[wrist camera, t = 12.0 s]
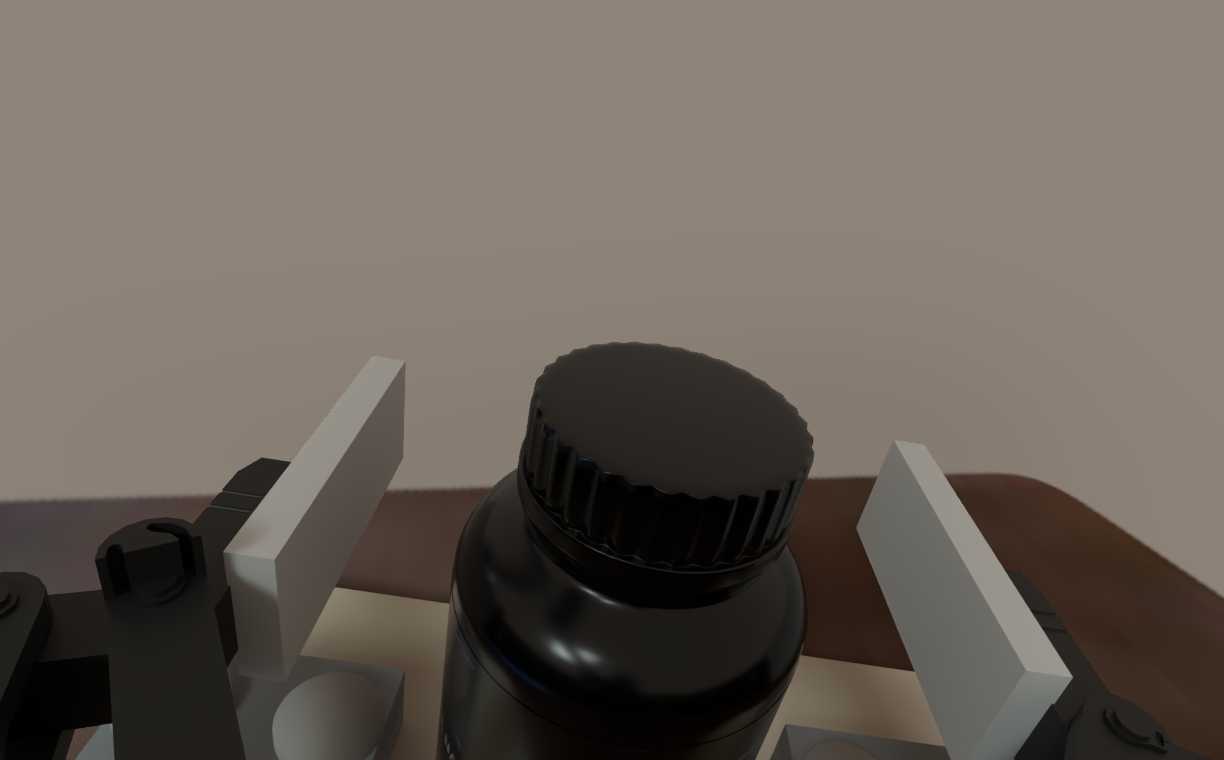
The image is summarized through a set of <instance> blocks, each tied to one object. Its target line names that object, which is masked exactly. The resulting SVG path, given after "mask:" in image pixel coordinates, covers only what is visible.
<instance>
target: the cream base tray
mask: <svg viewBox="0 0 1224 760" xmlns="http://www.w3.org/2000/svg"><path fill="white" fill-rule="evenodd" d="M448 614H449V604H447V603H440V602H433V601H426V600H419V599H412V598H406V597H399V596H392V595H385V594H378V593H371V592H365V591H358V590H351V589H344V588H337V587H335V588H334V590H333V592H332V594H331V596H330V598H329V599H328V601H327V603H326V605H325V607H324V609H323V611H322V613H321V615H320V617H319V618H318V620H317V622H316V624H315V626H314V628H313V630H312V632H311V634H310V636H309V638H308V639H307V641H306V643H305V645H304V647H303V649H302V651H301V653H300V655H299V657H298V658H297V660H296V662H295V664H294V666H293V668H292V670H291V672H290V674H289V676H288V678H287V679H286V681H285V682H282V681H275V680H267V679H260V678H253V677H246V676H239V670H238V662H237V655H236V654H235V656H234V658H233V659H232V661H231V662H230V664H229V666H228V667H227V671H228V676H229V681H230V685H231V690H232V695H233V700H234V704H235V709H236V714H237V719H238V723H239V728H240V733H241V738H242V742H243V747H244V752H245V757H246V760H436V749H437V738H438V727H439V716H440V704H441V693H442V682H443V671H444V659H445V648H446V637H447V626H448ZM75 760H114V744H113V727H112V724H105V725H101V726H100V727H99V728H98V730H97V731H96V732H95V734H94V735H93V736H92V738H91V739H90V740H89V742H88V743H87V744H86V746H85V747H84V748H83V750H82V751H81V752H80V754H79V755H78V756H77V758H76V759H75ZM755 760H951V759H950V757H949V754H948V752H947V749H946V747H945V744H944V742H943V739H942V737H941V735H940V732H939V730H938V727H937V725H936V722H935V720H934V717H933V715H932V712H931V710H930V708H929V705H928V703H927V700H926V698H925V695H924V693H923V690H922V688H921V685H920V683H919V681H918V678H917V676H916V673H915V672H912V671H905V670H898V669H891V668H884V667H877V666H870V665H864V664H857V663H850V662H843V661H836V660H829V659H823V658H816V657H809V656H802V655H801V656H800V659H799V662H798V665H797V667H796V670H795V673H794V676H793V678H792V680H791V683H790V685H789V687H788V689H787V691H786V694H785V696H784V698H783V700H782V702H781V705H780V707H779V709H778V711H777V713H776V716H775V718H774V720H773V722H772V724H771V726H770V729H769V731H768V733H767V735H766V737H765V740H764V742H763V744H762V746H761V748H760V751H759V753H758V755H757V757H756V759H755Z"/></svg>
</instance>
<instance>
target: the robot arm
mask: <svg viewBox="0 0 1224 760" xmlns="http://www.w3.org/2000/svg"><path fill="white" fill-rule="evenodd" d="M404 397H405V361H402V360H395V359H389V358H383V357H377V356H372V357H371V358H370V360H369V361H368V362H367V364H366V365H365V366H364V368H363V369H362V370H361V372H360V373H359V374H358V376H357V377H356V378H355V379H354V381H353V382H352V384H351V385H350V386H349V388H348V389H347V390H346V391H345V393H344V394H343V395H342V397H341V398H340V399H339V400H338V402H337V403H336V404H335V406H334V407H333V408H332V410H331V411H330V412H329V414H328V415H327V416H326V418H325V419H324V420H323V421H322V423H321V424H320V425H319V427H318V428H317V429H316V431H315V432H314V433H313V435H312V436H311V437H310V439H309V440H308V441H307V442H306V444H305V445H304V446H303V448H302V449H301V450H300V452H299V453H298V454H297V456H296V457H295V458H294V460H293V461H292V462H287V461H280V460H274V459H267V458H260V459H259V460H257V461H255V462H253V463H252V464H250V465H248V466H247V467H245V468H243V469H241V470H240V471H238V472H237V473H236V474H235V475H234V477H233V478H232V479H231V480H230V481H229V482H228V484H227V485H226V486H225V487H224V488H223V491H222V493H219V494H218V495H217V496H216V497H215V499H214V500H213V501H212V502H211V503H210V507H209V508H208V507H207V508H206V509H205V510H204V511H203V513H202V514H201V515H200V516H199V517H198V518H197V520H196V521H195V522H194V523H193V524H191V523H189V522H187V521H185V520H183V519H175V518H167V517H164V518H155V519H146V520H143V521H140V522H137V523H133V524H130V525H127V526H125V527H124V528H122V529H120V530H118V531H117V532H115V533H113V534H111V535H110V536H109V537H108V538H107V539H106V540H105V541H104V542H103V543H102V544H101V545H100V546H99V548H98V551H97V554H96V558H95V562H96V566H97V570H98V574H99V578H100V582H101V587H102V589H101V590H95V591H86V592H76V593H66V594H55V595H48V594H47V590H46V587H45V585H44V584H43V583H42V582H41V580H40V579H39V578H38V577H36V576H33V575H30V574H27V573H24V572H2V573H0V760H65V759H66V756H67V753H68V750H69V747H70V744H71V740H72V737H73V734H74V731H75V729H78V728H85V727H92V726H98V725H105V724H112V727H113V744H114V760H246V757H245V752H244V747H243V742H242V738H241V733H240V728H239V723H238V719H237V714H236V709H235V704H234V700H233V695H232V690H231V685H230V681H229V676H228V671H227V667H228V666H229V664H230V662H231V661H232V659H233V658H234V656H235V654H236V655H237V662H238V670H239V676H246V677H253V678H260V679H267V680H275V681H282V682H285V681H286V679H287V678H288V676H289V674H290V672H291V670H292V668H293V666H294V664H295V662H296V660H297V658H298V657H299V655H300V653H301V651H302V649H303V647H304V645H305V643H306V641H307V639H308V638H309V636H310V634H311V632H312V630H313V628H314V626H315V624H316V622H317V620H318V618H319V617H320V615H321V613H322V611H323V609H324V607H325V605H326V603H327V601H328V599H329V598H330V596H331V594H332V592H333V590H334V588H335V586H336V584H337V582H338V580H339V578H340V577H341V575H342V573H343V571H344V569H345V567H346V565H347V563H348V561H349V559H350V558H351V556H352V554H353V552H354V550H355V548H356V546H357V544H358V542H359V540H360V538H361V537H362V535H363V533H364V531H365V529H366V527H367V525H368V523H369V521H370V519H371V518H372V516H373V514H374V512H375V510H376V508H377V506H378V504H379V502H380V500H381V498H382V497H383V495H384V493H385V491H386V489H387V487H388V485H389V483H390V481H391V479H392V478H393V476H394V474H395V472H396V470H397V468H398V466H399V464H400V462H401V460H402V459H403V437H404V436H403V435H404ZM856 529H857V531H858V533H859V536H860V538H861V541H862V543H863V546H864V548H865V551H866V553H867V556H868V558H869V560H870V563H871V565H872V568H873V570H874V573H875V575H876V578H877V580H878V582H879V585H880V587H881V590H882V592H883V595H884V597H885V600H886V602H887V605H888V607H889V609H890V612H891V614H892V617H893V619H894V622H895V624H896V627H897V629H898V632H899V634H900V636H901V639H902V641H903V644H904V646H905V649H906V651H907V654H908V656H909V659H910V661H911V663H912V666H913V668H914V671H915V673H916V676H917V678H918V681H919V683H920V685H921V688H922V690H923V693H924V695H925V698H926V700H927V703H928V705H929V708H930V710H931V712H932V715H933V717H934V720H935V722H936V725H937V727H938V730H939V732H940V735H941V737H942V739H943V742H944V744H945V747H946V749H947V752H948V754H949V757H950V759H951V760H1212V759H1209V758H1206V757H1204V756H1201V755H1199V754H1196V753H1194V752H1191V751H1189V750H1186V749H1184V748H1181V747H1179V746H1176V745H1174V743H1173V741H1172V740H1171V738H1170V737H1169V735H1168V734H1167V732H1166V731H1165V729H1164V728H1163V727H1162V726H1161V725H1160V724H1159V723H1158V722H1157V721H1156V720H1155V719H1154V718H1153V717H1152V716H1151V715H1149V714H1148V713H1147V712H1145V711H1144V710H1142V709H1141V708H1139V707H1138V706H1136V705H1135V704H1133V703H1132V702H1130V701H1128V700H1125V699H1123V698H1121V697H1118V696H1116V695H1112V694H1110V693H1109V691H1108V690H1107V688H1106V687H1105V685H1104V684H1103V682H1102V681H1101V679H1100V678H1099V676H1098V675H1097V674H1096V672H1095V671H1094V669H1093V668H1092V666H1091V665H1090V663H1089V662H1088V660H1087V659H1086V657H1085V656H1084V654H1083V653H1082V651H1081V650H1080V648H1079V647H1078V645H1077V644H1076V643H1075V641H1074V640H1073V638H1072V637H1071V635H1068V634H1067V629H1066V628H1065V626H1064V625H1063V623H1062V622H1061V620H1060V619H1059V618H1057V617H1056V613H1055V612H1054V610H1053V609H1052V607H1051V606H1050V604H1049V603H1048V601H1047V600H1046V598H1045V597H1044V595H1043V594H1042V592H1041V591H1039V590H1038V589H1037V588H1036V587H1035V586H1034V585H1033V584H1032V583H1031V582H1029V581H1028V580H1027V579H1026V578H1025V577H1024V576H1023V575H1022V574H1021V573H1019V572H1014V571H1007V570H1004V569H1003V567H1002V565H1001V564H1000V562H999V561H998V559H997V558H996V556H995V554H994V553H993V551H992V550H991V548H990V547H989V545H988V544H987V542H986V540H985V539H984V537H983V536H982V534H981V533H980V531H979V529H978V528H977V526H976V525H975V523H974V522H973V520H972V518H971V517H970V515H969V514H968V512H967V511H966V509H965V508H964V506H963V504H962V503H961V501H960V500H959V498H958V497H957V495H956V493H955V492H954V490H953V489H952V487H951V486H950V484H949V482H948V481H947V479H946V478H945V476H944V475H943V473H942V471H941V470H940V468H939V467H938V465H937V464H936V462H935V461H934V459H933V457H932V456H931V454H930V453H929V451H928V450H927V448H926V446H925V445H924V444H917V443H911V442H905V441H899V440H893V442H892V444H891V447H890V449H889V452H888V454H887V456H886V459H885V461H884V463H883V466H882V468H881V470H880V473H879V475H878V477H877V480H876V482H875V485H874V487H873V489H872V492H871V494H870V496H869V499H868V501H867V503H866V506H865V508H864V511H863V513H862V515H861V518H860V520H859V522H858V525H857V527H856Z"/></svg>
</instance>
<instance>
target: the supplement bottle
mask: <svg viewBox="0 0 1224 760" xmlns="http://www.w3.org/2000/svg"><path fill="white" fill-rule="evenodd" d="M812 444H813V437H812V435H811V434H810V433H809V432H808V430H807V422H806V421H805V420H804V419H802V418H801V417H800V416H799V414H798V411H797V408H795V407H794V406H793V405H791V404H790V403H789V402H787V401H786V399H785V398H784V396H783V395H782V394H781V393H779V392H777V391H776V390H774V389H772V388H771V387H770V386H769V385H768V384H767V383H766V382H764V381H762V380H760V379H758V378H756V377H754V376H753V375H751V374H750V373H749V372H747V371H746V370H743V369H740V368H737V367H735V366H733V365H731V364H729V363H728V362H726V361H722V360H719V359H714V358H712V357H709V356H707V355H705V354H703V353H697V352H691V351H688V350H686V349H683V348H678V347H668V346H664V345H660V344H645V343H639V342H629V343H619V342H611V343H608V344H602V345H601V344H598V345H590V346H588V347H587V348H582V349H574V350H573V351H572V352H571V353H570V354H567V355H563V356H559V357H558V358H557V359H556V362H555V363H552V364H550V365H547V366H546V367H545V369H544V372H543V374H542V375H541V376H540V377H539V378H537V381H536V383H535V387H534V392H533V396H532V399H531V403H530V410H529V416H528V424H527V431H526V437H525V439H524V441H523V443H522V447H521V450H520V455H519V463H518V468H517V469H515V470H514V471H512V472H511V473H509V474H508V475H507V476H505V477H504V478H503V479H501V480H500V481H499V482H498V483H497V484H496V485H495V486H494V487H493V488H492V489H491V490H490V491H489V492H488V493H487V494H486V495H485V496H484V497H483V498H482V500H481V501H480V502H479V503H478V505H477V506H476V508H475V509H474V510H473V512H472V513H471V515H470V517H469V519H468V520H467V522H466V524H465V526H464V528H463V531H462V533H461V536H460V539H459V542H458V546H457V550H456V554H455V560H454V567H453V573H452V582H451V592H450V603H449V614H448V626H447V637H446V648H445V659H444V671H443V682H442V693H441V704H440V716H439V727H438V738H437V749H436V760H755V759H756V757H757V755H758V753H759V751H760V748H761V746H762V744H763V742H764V740H765V737H766V735H767V733H768V731H769V729H770V726H771V724H772V722H773V720H774V718H775V716H776V713H777V711H778V709H779V707H780V705H781V702H782V700H783V698H784V696H785V694H786V691H787V689H788V687H789V685H790V683H791V680H792V678H793V676H794V673H795V670H796V667H797V665H798V662H799V659H800V656H801V653H802V650H803V647H804V643H805V638H806V632H807V614H808V613H807V603H806V594H805V589H804V585H803V580H802V576H801V573H800V570H799V567H798V564H797V562H796V559H795V557H794V555H793V553H792V551H791V548H790V546H789V544H788V543H787V541H788V539H789V537H790V534H791V532H792V529H793V526H794V523H795V518H796V506H797V504H798V501H799V499H800V496H801V493H802V491H803V488H804V486H805V483H806V480H807V477H808V474H809V471H810V468H811V466H812V463H813V458H814V451H813V449H812Z"/></svg>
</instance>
